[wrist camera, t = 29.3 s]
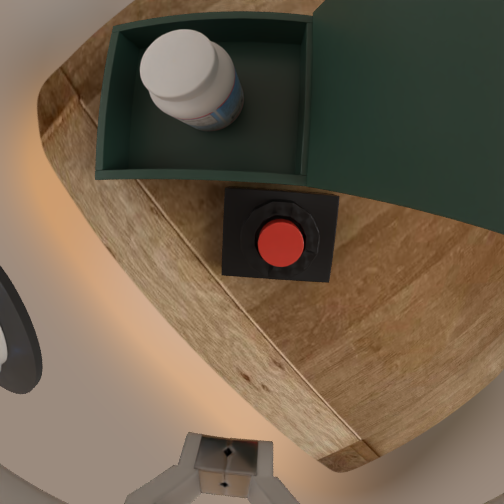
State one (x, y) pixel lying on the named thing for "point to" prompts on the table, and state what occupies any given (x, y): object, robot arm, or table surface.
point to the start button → (280, 243)
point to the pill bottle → (192, 80)
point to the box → (224, 140)
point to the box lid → (411, 105)
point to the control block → (270, 208)
